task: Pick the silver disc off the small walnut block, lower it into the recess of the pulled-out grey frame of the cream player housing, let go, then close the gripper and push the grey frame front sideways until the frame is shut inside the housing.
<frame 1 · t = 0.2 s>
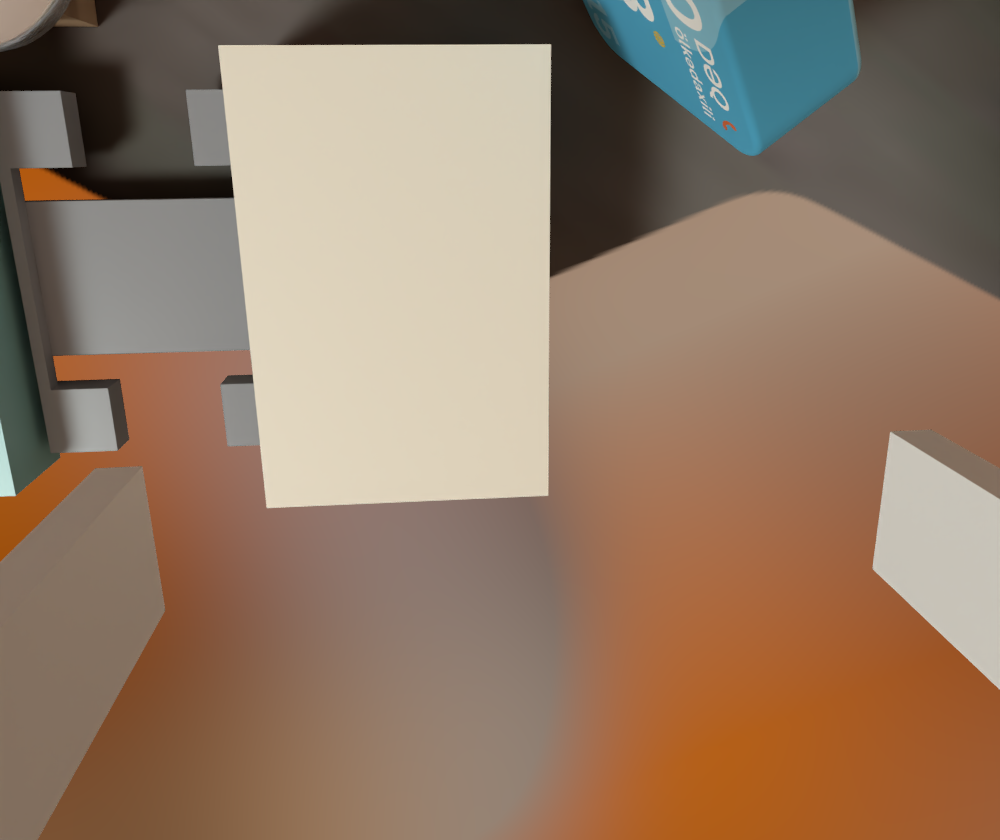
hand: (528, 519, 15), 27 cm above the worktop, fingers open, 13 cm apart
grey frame: (129, 282, 37), point 3 cm above the worktop, slide at 10.5 cm
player: (403, 266, 41), on the worktop
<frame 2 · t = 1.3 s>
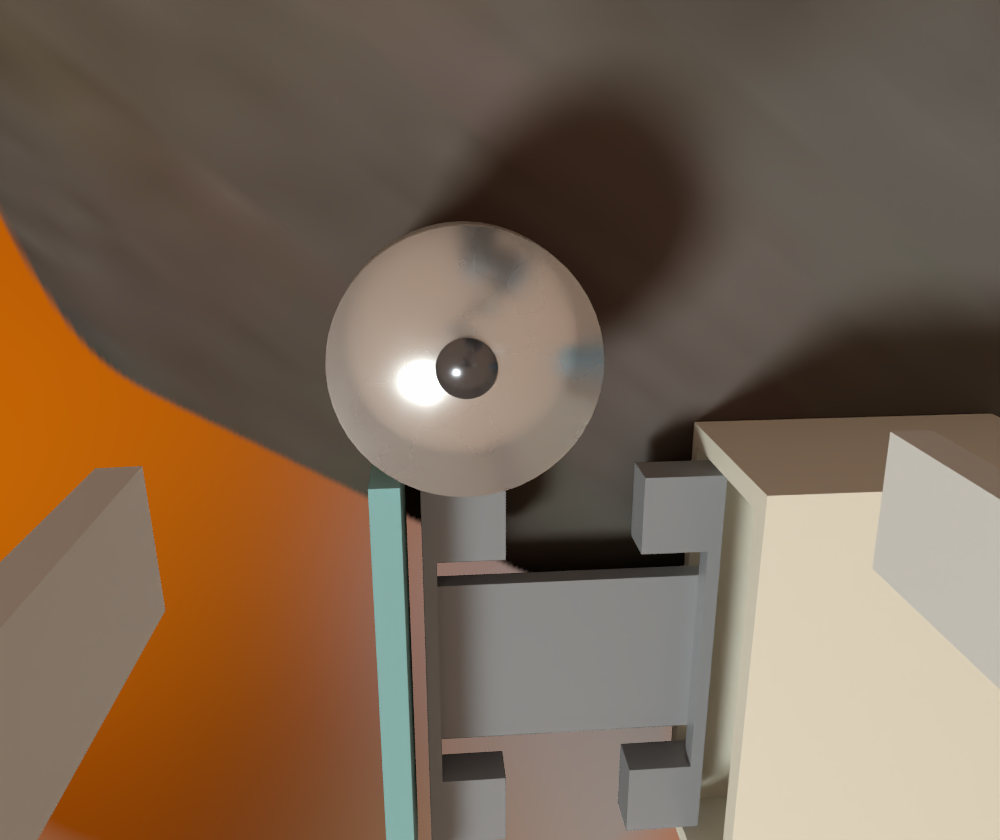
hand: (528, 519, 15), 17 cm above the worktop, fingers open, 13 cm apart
disc: (464, 355, 26), point 5 cm above the worktop, touching block
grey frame: (550, 674, 32), point 3 cm above the worktop, slide at 10.5 cm
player: (818, 621, 36), on the worktop
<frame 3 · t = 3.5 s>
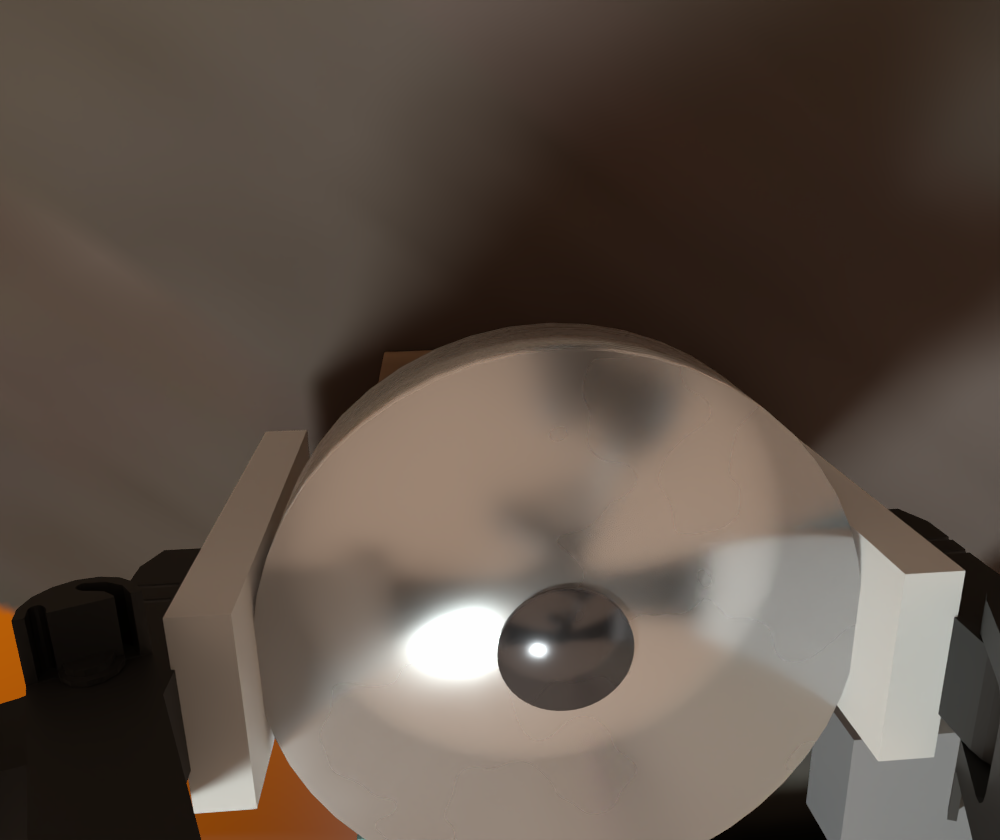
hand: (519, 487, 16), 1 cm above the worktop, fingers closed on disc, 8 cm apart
disc: (548, 587, 13), point 5 cm above the worktop, touching block, gripper
block: (514, 466, 17), on the worktop
when the fingers open (1 cm above the worktop, at t = 8.6 s): disc drops 3 cm, resting on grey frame.
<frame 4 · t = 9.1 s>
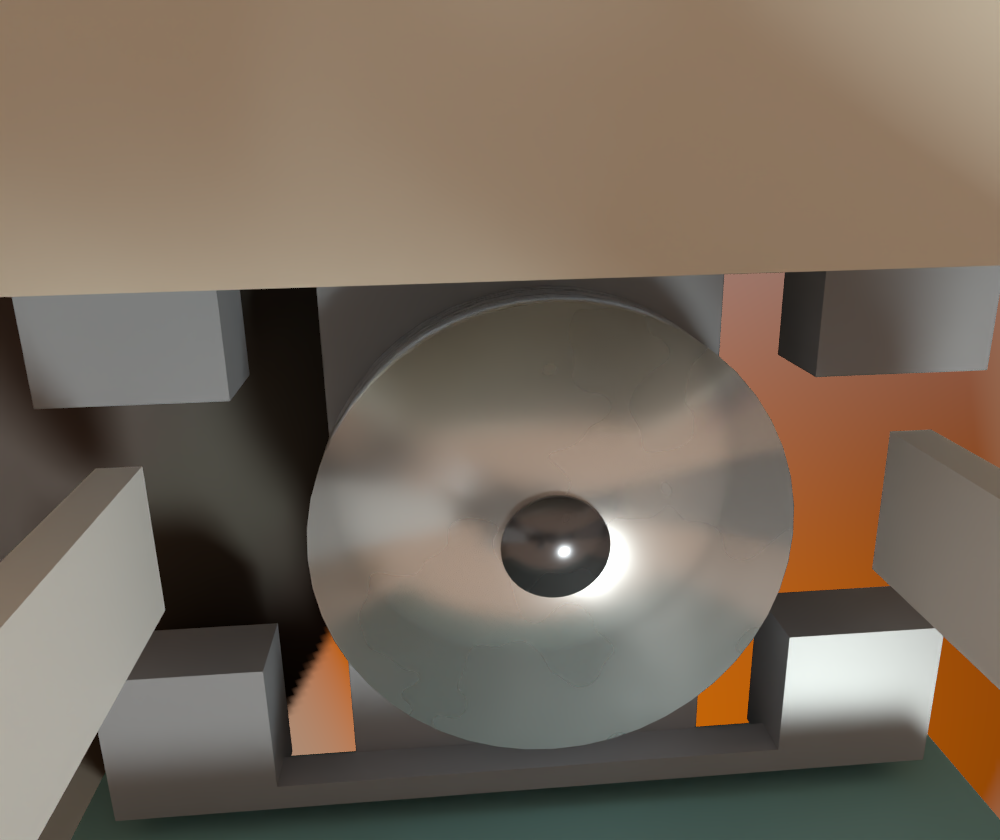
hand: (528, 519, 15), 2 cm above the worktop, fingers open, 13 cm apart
disc: (542, 506, 15), point 2 cm above the worktop, touching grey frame
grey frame: (533, 575, 15), point 3 cm above the worktop, slide at 10.5 cm, touching disc
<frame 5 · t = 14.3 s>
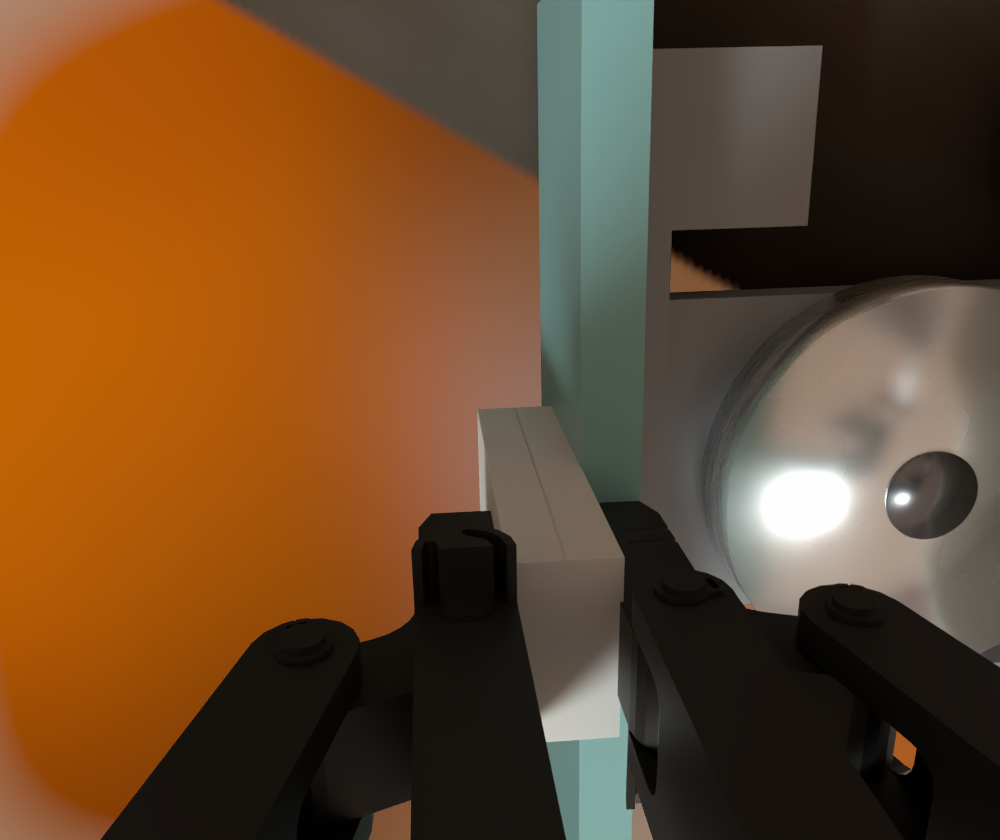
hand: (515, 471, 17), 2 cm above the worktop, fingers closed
disc: (886, 465, 18), point 2 cm above the worktop, touching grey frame
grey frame: (874, 471, 17), point 3 cm above the worktop, slide at 9.8 cm, touching disc, gripper
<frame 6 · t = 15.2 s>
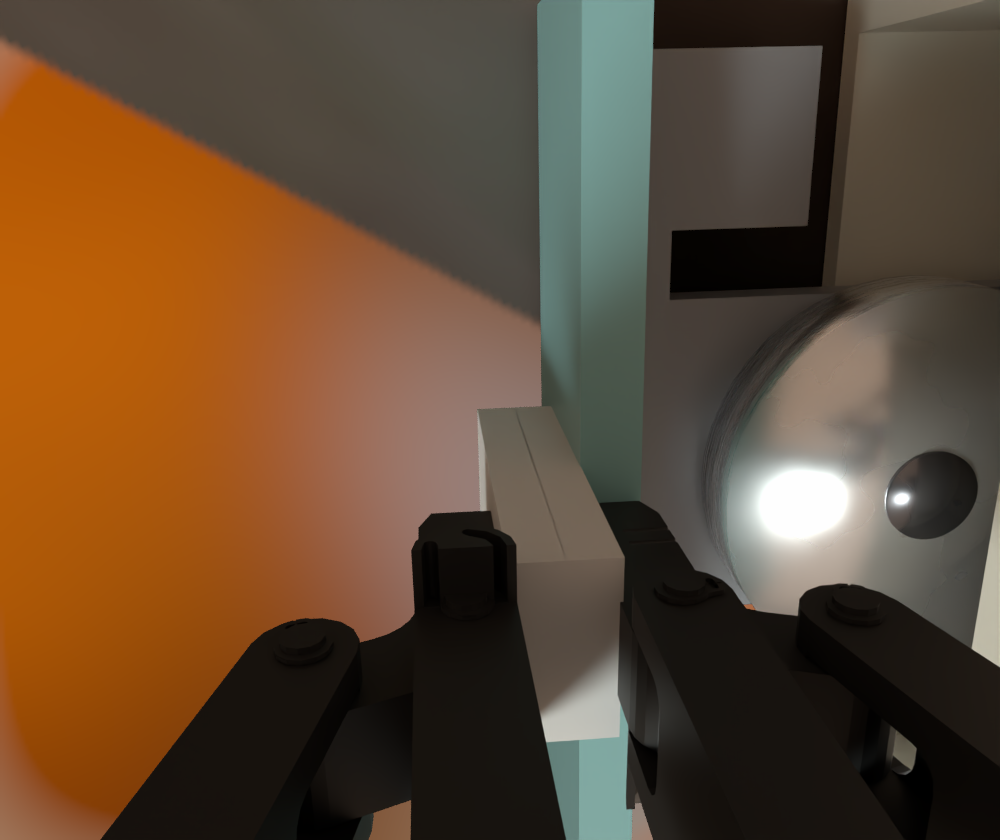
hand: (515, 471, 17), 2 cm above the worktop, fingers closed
disc: (886, 465, 18), point 2 cm above the worktop, touching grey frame
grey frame: (874, 471, 17), point 3 cm above the worktop, slide at 4.6 cm, touching disc, gripper
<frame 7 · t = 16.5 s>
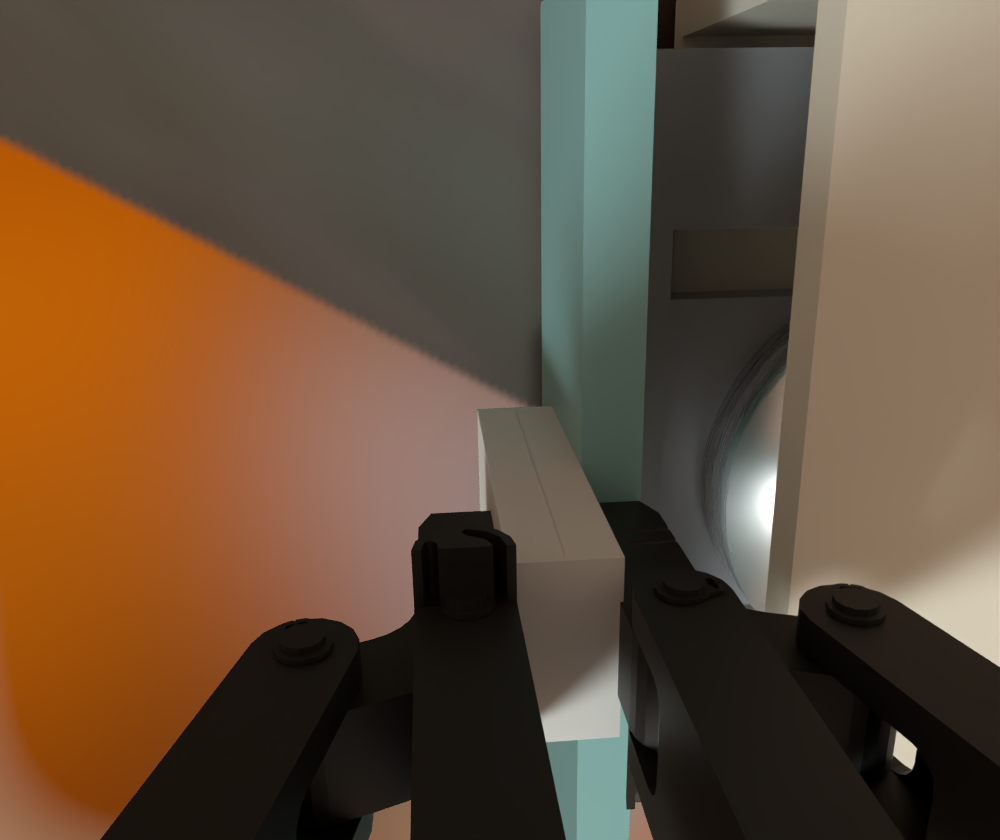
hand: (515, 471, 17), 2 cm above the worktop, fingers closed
disc: (886, 466, 18), point 2 cm above the worktop, touching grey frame
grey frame: (873, 472, 17), point 3 cm above the worktop, slide at 1.1 cm, touching disc, gripper
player: (913, 423, 20), on the worktop
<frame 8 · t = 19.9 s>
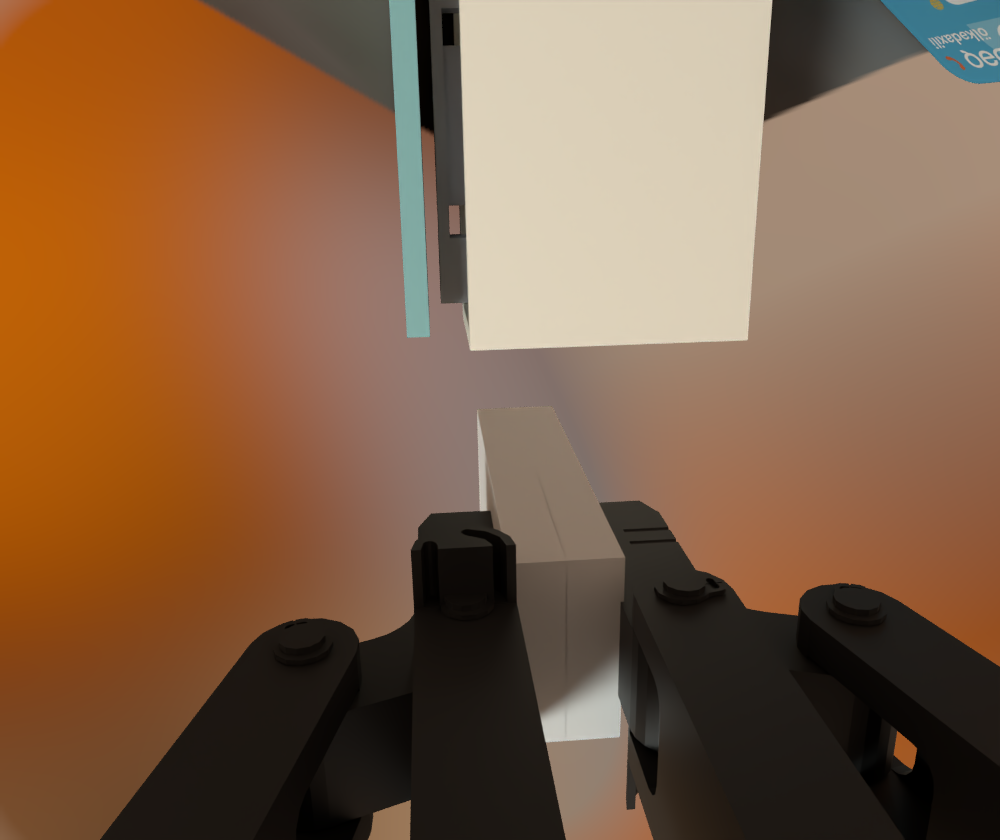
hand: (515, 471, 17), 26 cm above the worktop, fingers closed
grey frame: (540, 125, 38), point 3 cm above the worktop, slide at 1.1 cm, touching disc
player: (582, 125, 40), on the worktop
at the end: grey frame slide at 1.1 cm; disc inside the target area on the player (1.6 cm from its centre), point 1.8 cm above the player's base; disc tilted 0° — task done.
